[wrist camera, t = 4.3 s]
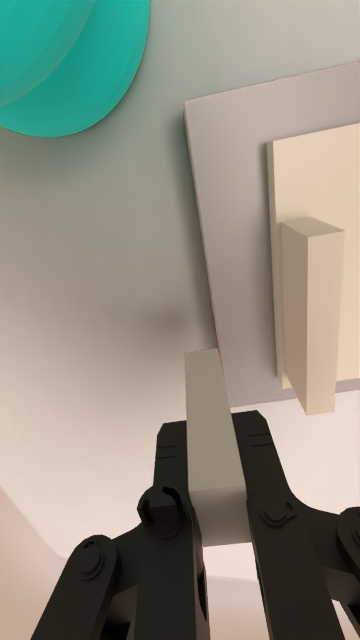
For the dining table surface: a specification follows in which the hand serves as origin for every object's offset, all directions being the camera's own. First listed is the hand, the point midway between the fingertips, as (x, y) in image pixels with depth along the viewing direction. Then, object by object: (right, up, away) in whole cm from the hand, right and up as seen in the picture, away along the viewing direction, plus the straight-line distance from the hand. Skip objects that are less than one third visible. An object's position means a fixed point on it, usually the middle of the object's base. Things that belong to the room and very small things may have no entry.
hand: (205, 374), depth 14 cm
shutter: (+7, +5, 0) cm, 9 cm away
